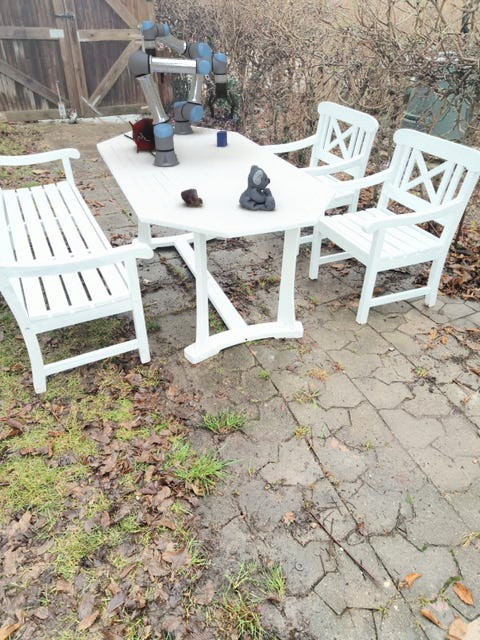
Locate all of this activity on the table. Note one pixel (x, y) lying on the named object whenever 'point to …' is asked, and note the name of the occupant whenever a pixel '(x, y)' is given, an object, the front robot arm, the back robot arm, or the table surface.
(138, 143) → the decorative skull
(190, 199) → the rock
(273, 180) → the table surface
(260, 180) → the koala plush
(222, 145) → the block
